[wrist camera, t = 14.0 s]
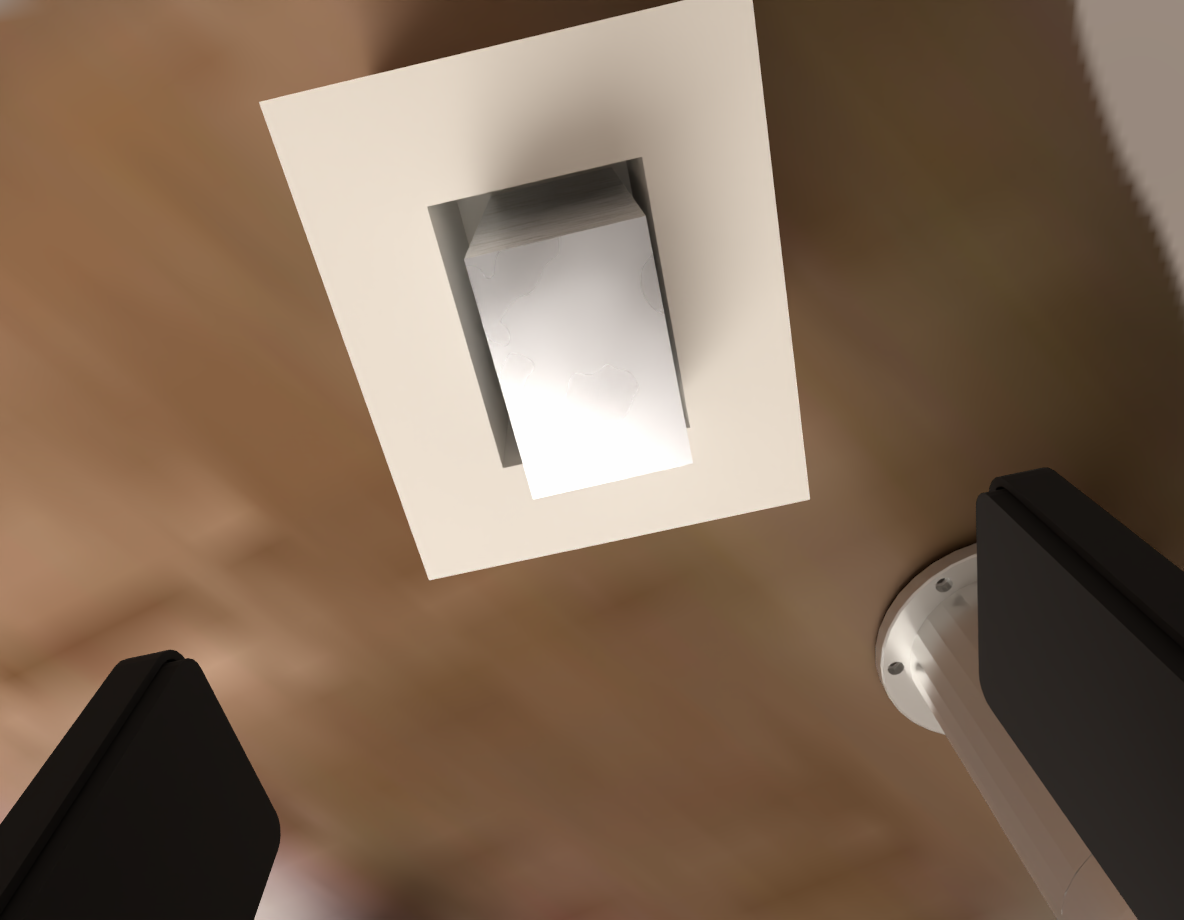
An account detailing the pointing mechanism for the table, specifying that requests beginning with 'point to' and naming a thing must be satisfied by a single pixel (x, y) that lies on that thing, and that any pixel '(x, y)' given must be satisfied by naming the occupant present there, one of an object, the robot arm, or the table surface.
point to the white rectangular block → (578, 332)
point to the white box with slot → (527, 158)
